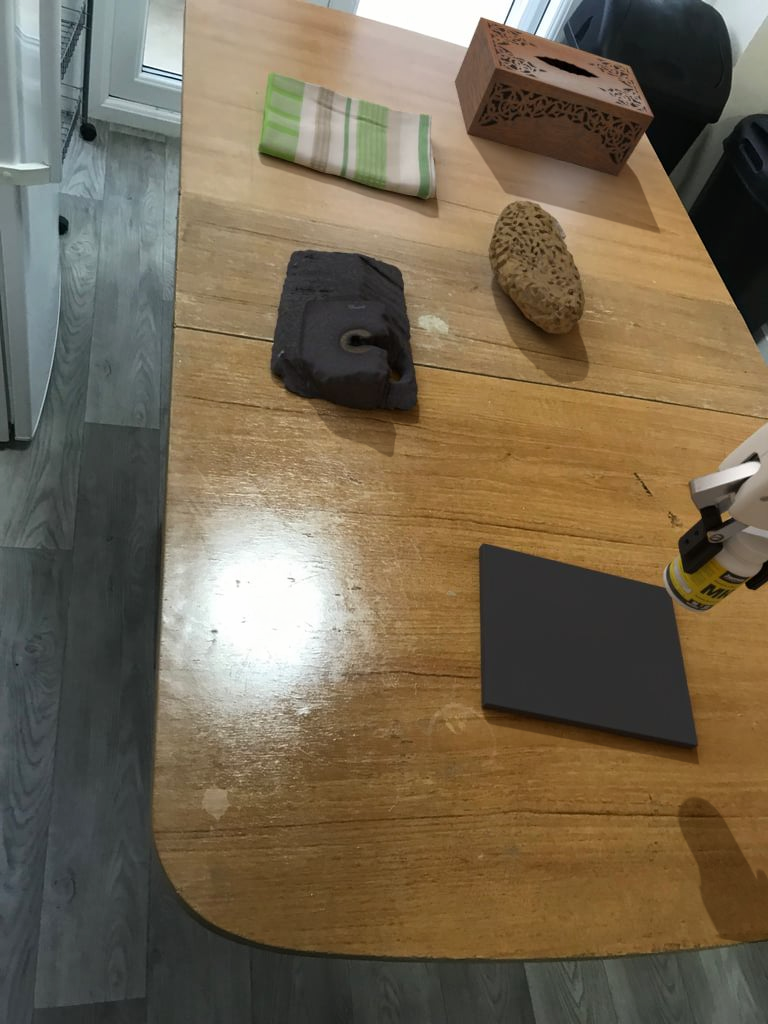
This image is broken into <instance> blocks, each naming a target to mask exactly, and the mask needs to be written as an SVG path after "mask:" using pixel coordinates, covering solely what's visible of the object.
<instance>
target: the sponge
mask: <svg viewBox="0 0 768 1024" xmlns="http://www.w3.org/2000/svg"><path fill="white" fill-rule="evenodd" d="M566 237H567V235H566V233H565V231H564V229H563V228H562V226H561V224H560V223H559V221H558V220H557V218H556V217H554V216H553V215H551V213H549V212H548V211H547V210H544V209H543V208H542V207H541V205H540V204H539V203H535V202H532V201H529V200H524V201H523V200H519V201H518V200H516V201H514V202H510V203H508V204H507V206H505V207H504V208H503V210H501V213H500V214H499V216H498V217H497V220H496V222H495V224H494V228H493V233H492V237H491V240H490V243H489V246H488V259H489V264H490V268H491V270H492V273H493V276H494V277H495V278H496V279H497V280H496V281H497V283H498V284H499V286H500V287H501V289H502V290H503V292H504V293H505V294H506V295H507V296H508V297H510V298H511V300H512V301H513V302H514V303H515V305H516V306H517V307H518V309H519V310H520V312H521V313H522V314H523V316H524V317H525V318H526V319H528V320H529V321H531V322H532V323H534V324H535V325H536V326H537V327H538V328H541V329H542V331H545V332H546V333H548V334H557V335H558V334H566V333H569V332H570V331H572V328H573V326H574V325H575V324H576V323H578V322H579V321H580V320H581V319H582V317H583V315H584V307H585V302H586V300H585V299H586V298H585V294H584V289H583V285H582V280H581V275H580V272H579V269H578V267H577V266H576V264H575V261H574V255H573V254H572V253H571V252H570V251H569V250H568V246H567V243H566V242H565V239H566Z"/></svg>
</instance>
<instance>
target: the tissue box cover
mask: <svg viewBox="0 0 768 1024" xmlns="http://www.w3.org/2000/svg"><path fill="white" fill-rule="evenodd" d="M454 83H455V89H456V92H457V97H458V101H459V106H460V109H461V113H462V118H463V123H464V126H465V131H466V134H468V135H471V136H474V137H479V138H482V139H486V140H489V141H493V142H496V143H499V144H502V145H507V146H510V147H514V148H517V149H521V150H524V151H528V152H531V153H536V154H539V155H542V156H546V157H548V158H549V157H550V158H553V159H557V160H560V161H563V162H566V163H571V164H574V165H578V166H581V167H585V168H587V169H592V170H595V171H598V172H602V173H607V174H609V175H613V176H617V177H619V175H620V174H621V172H622V171H623V169H624V167H625V166H626V164H627V162H628V161H629V159H630V157H631V155H632V154H633V152H634V151H635V149H636V147H637V146H638V145H639V142H640V141H641V140H642V138H643V136H644V134H645V133H646V131H647V130H648V128H649V127H650V125H651V123H652V122H653V120H654V118H655V116H654V114H653V112H652V110H651V108H650V105H649V103H648V101H647V99H646V97H645V95H644V93H643V91H642V89H641V86H640V84H639V82H638V80H637V78H636V75H635V73H634V71H633V69H632V67H631V66H630V65H628V64H625V63H622V62H618V61H615V60H612V59H609V58H606V57H604V56H600V55H597V54H594V53H591V52H589V51H585V50H582V49H579V48H576V47H572V46H570V45H567V44H563V43H561V42H558V41H555V40H551V39H549V38H546V37H543V36H540V35H537V34H534V33H530V32H529V31H528V32H527V31H524V30H521V29H519V28H515V27H512V26H509V25H506V24H504V23H500V22H497V21H494V20H491V19H489V18H485V17H482V16H480V18H479V20H478V23H477V25H476V28H475V29H474V33H473V35H472V37H471V40H470V43H469V45H468V48H467V50H466V52H465V55H464V58H463V60H462V62H461V66H460V67H459V70H458V72H457V75H456V78H455V80H454Z"/></svg>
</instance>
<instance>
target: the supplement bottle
mask: <svg viewBox="0 0 768 1024" xmlns="http://www.w3.org/2000/svg"><path fill="white" fill-rule="evenodd" d="M730 518H731V516H730V517H728V518H727V519H726V520H728V519H730ZM722 542H723V549H722V551H720V552H719V553H718V554H717V555H716V556H715V557H713V558H712V559H711V560H710V561H709V562H707V563H706V564H705V565H704V566H703V567H701V568H700V569H699V570H698V571H697V572H695V573H693V574H687V573H684V571H683V567H682V562H681V556H680V554H679V555H677V556H676V557H675V558H674V559H673V560H671V562H669V563H668V564H667V565H666V567H665V568H664V570H663V574H662V580H663V585H664V587H665V588H666V590H667V592H668V593H669V595H670V596H671V597H672V601H674V602H675V603H676V604H677V605H679V607H681V608H683V609H684V610H686V611H689V612H693V613H705V612H707V611H710V610H711V609H713V608H714V607H715V606H716V605H717V604H719V603H721V602H722V601H723V600H725V598H727V597H728V596H730V595H731V594H732V593H733V592H735V591H736V590H738V589H739V588H740V587H741V586H742V585H745V582H747V581H748V580H749V579H750V578H752V577H753V576H754V575H756V574H757V573H758V572H759V571H760V569H761V568H762V566H763V562H766V561H767V560H768V531H765V530H762V529H759V528H755V527H752V526H750V527H748V528H746V529H744V530H742V531H740V532H739V533H737V534H735V535H733V536H731V537H729V538H728V539H726V540H724V541H722Z"/></svg>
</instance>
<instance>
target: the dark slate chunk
mask: <svg viewBox="0 0 768 1024" xmlns="http://www.w3.org/2000/svg"><path fill="white" fill-rule="evenodd" d="M285 274H286V277H285V278H284V281H283V282H284V283H283V284H282V291H281V294H280V299H279V304H278V305H279V306H278V308H277V313H278V314H277V318H276V323H275V324H276V325H275V328H274V333H273V343H272V345H271V348H270V350H271V355H270V366H269V367H270V370H271V371H272V372H273V374H275V375H277V376H279V377H281V378H282V381H283V384H284V388H285V389H286V390H287V391H288V392H291V393H296V394H297V395H299V396H301V397H306V398H308V399H313V398H318V399H323V400H325V401H329V402H331V403H332V404H337V405H340V406H342V407H347V408H352V409H359V410H364V411H372V410H374V409H378V408H379V409H381V410H383V409H384V410H388V409H391V410H395V408H398V409H401V410H407V411H412V410H413V409H414V407H415V406H416V404H417V403H418V391H419V387H418V382H417V377H416V369H415V363H414V359H413V354H412V350H411V343H410V340H411V338H412V335H411V325H410V323H411V322H410V319H409V316H408V312H407V311H408V306H407V304H406V297H405V282H404V278H403V273H402V271H401V270H400V268H398V266H395V265H393V264H391V263H387V262H385V261H382V260H377V259H376V258H375V257H371V256H368V255H366V254H361V253H359V252H342V251H327V250H314V249H305V250H295V251H293V252H291V254H290V257H289V262H288V263H287V265H286V272H285ZM392 372H396V374H397V375H398V377H399V381H397V380H392Z"/></svg>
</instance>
